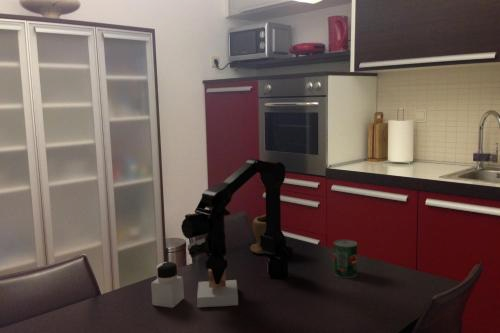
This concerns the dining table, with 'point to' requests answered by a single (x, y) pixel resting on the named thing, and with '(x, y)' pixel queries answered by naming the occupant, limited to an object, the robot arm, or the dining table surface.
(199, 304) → the grey base
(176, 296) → the medicine bottle
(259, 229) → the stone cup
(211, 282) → the terracotta cube
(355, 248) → the canned tomato
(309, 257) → the dining table surface
